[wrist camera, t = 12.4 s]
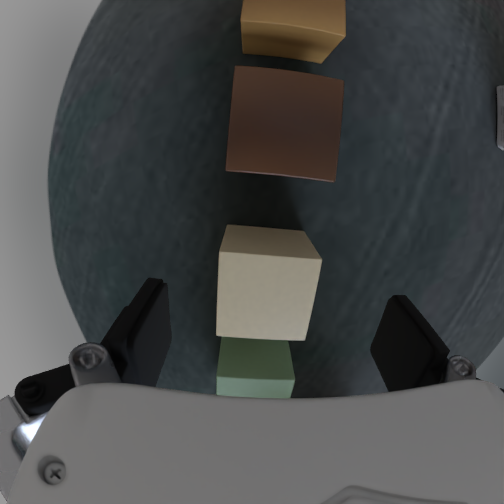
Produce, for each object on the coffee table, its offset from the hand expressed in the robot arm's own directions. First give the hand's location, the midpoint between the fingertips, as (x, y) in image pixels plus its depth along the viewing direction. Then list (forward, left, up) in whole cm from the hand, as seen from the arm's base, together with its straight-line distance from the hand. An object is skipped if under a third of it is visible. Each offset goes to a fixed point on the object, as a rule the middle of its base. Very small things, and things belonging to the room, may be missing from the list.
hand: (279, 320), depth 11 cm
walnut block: (-8, 0, -8) cm, 11 cm away
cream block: (+1, 0, -8) cm, 8 cm away
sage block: (+9, 0, -8) cm, 12 cm away
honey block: (-15, 0, -8) cm, 17 cm away
